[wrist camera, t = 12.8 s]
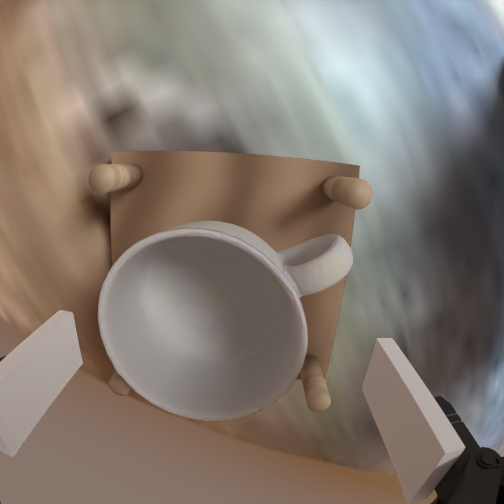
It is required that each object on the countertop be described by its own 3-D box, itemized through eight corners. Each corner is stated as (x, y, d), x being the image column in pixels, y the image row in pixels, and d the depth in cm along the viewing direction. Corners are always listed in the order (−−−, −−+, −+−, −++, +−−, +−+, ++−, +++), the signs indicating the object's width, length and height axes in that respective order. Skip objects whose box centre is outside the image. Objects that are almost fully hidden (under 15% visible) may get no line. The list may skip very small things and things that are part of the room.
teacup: (176, 363, 24) (152, 433, 16) (118, 238, 21) (59, 274, 14) (347, 313, 23) (385, 375, 15) (307, 170, 20) (341, 172, 12)
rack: (352, 165, 22) (389, 166, 15) (321, 369, 26) (337, 419, 20) (120, 152, 21) (76, 149, 15) (128, 354, 25) (101, 400, 19)
